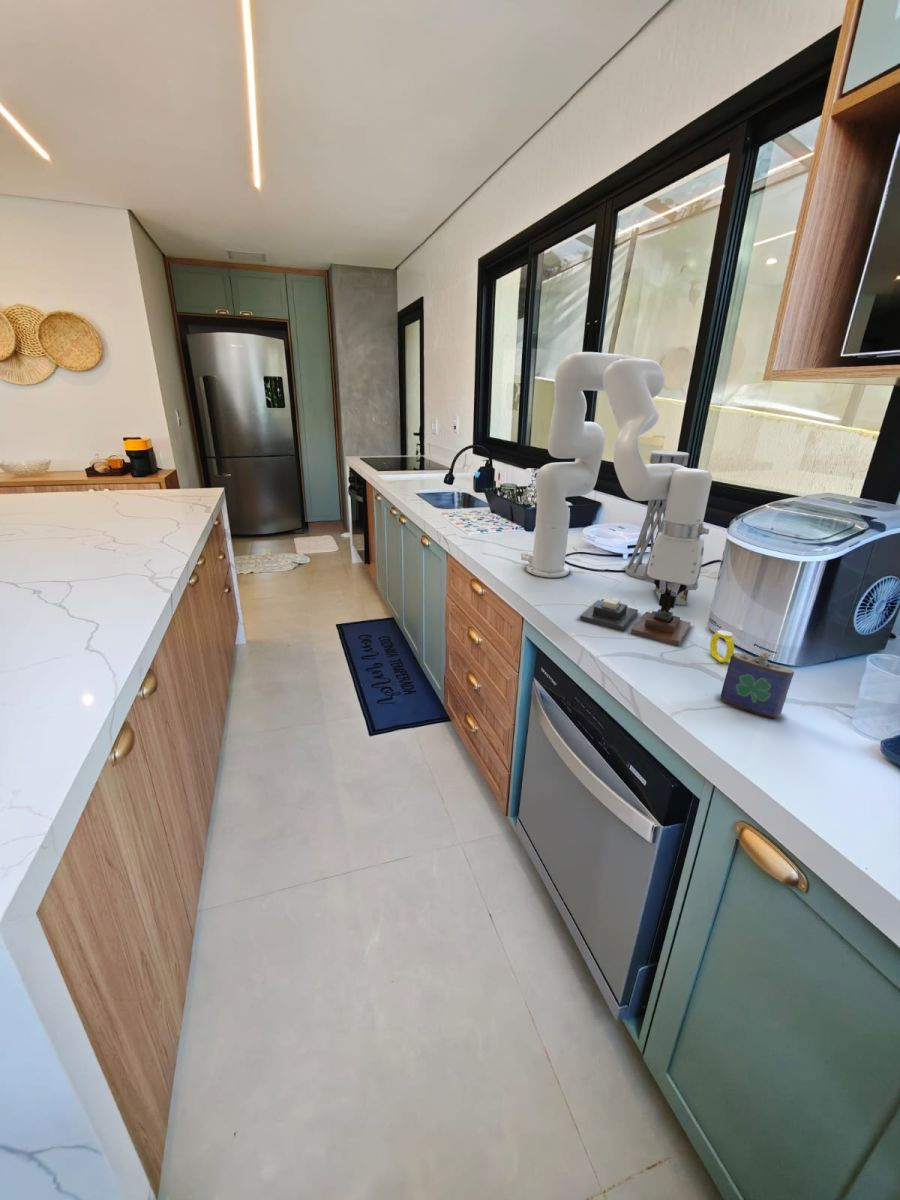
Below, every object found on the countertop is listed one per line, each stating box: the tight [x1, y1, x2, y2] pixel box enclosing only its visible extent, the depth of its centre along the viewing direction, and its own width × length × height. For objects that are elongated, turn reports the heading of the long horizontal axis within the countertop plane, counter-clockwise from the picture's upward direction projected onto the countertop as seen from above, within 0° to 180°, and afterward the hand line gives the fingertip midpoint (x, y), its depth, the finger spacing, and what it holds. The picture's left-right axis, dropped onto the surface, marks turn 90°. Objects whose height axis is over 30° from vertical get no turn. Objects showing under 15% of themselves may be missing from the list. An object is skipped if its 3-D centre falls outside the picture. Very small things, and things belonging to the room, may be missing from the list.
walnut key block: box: [630, 610, 692, 647], centre depth 114 cm, size 10×12×3 cm
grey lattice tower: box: [624, 450, 690, 581], centre depth 144 cm, size 14×13×35 cm
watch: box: [709, 629, 735, 663], centre depth 101 cm, size 6×3×6 cm, turn 4°
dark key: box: [654, 608, 674, 623], centre depth 113 cm, size 3×3×2 cm
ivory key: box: [602, 596, 621, 610], centre depth 119 cm, size 3×3×2 cm
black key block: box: [579, 598, 639, 632], centre depth 120 cm, size 10×12×3 cm
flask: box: [719, 651, 795, 720], centre depth 85 cm, size 9×3×11 cm, turn 51°
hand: (665, 609), depth 112 cm, fingers closed
